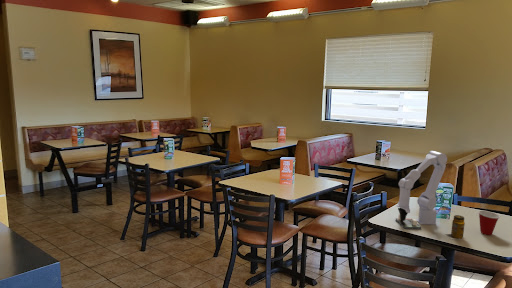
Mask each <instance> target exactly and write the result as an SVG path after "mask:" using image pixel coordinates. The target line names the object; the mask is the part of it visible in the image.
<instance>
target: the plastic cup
mask: <svg viewBox="0 0 512 288" xmlns="http://www.w3.org/2000/svg"><path fill="white" fill-rule="evenodd" d="M500 217H501V216H500V214H497V213H496V212H492V211H488V210H478V219H479V229H480V230H479V231H480V234H482V235H485V236H492V235H493V233H494V230H495V229H496V228H495V227H496V226H497V222H498V220H499V219H500Z"/></svg>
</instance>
